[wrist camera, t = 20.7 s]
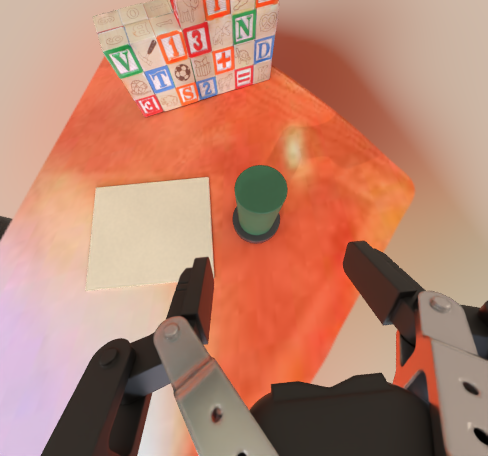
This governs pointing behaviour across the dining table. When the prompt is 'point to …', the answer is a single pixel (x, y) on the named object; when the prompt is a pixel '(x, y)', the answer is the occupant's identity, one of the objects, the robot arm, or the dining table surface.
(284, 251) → the dining table surface
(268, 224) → the green cylinder with base
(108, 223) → the napkin
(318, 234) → the dining table surface
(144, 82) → the stack of blocks
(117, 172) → the dining table surface
